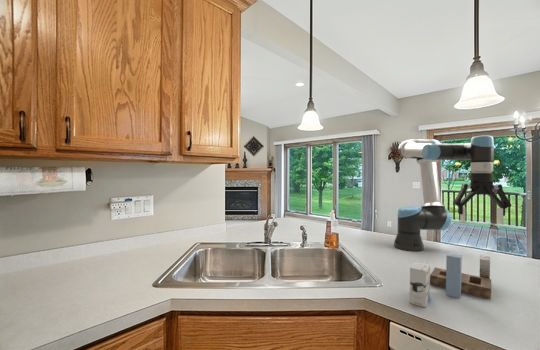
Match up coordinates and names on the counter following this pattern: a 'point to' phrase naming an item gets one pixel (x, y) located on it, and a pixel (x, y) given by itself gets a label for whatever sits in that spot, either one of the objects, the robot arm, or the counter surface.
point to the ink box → (420, 284)
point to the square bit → (453, 275)
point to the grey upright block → (485, 267)
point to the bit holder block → (464, 283)
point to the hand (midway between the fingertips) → (481, 222)
